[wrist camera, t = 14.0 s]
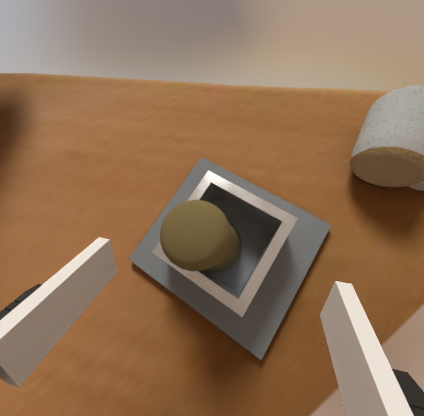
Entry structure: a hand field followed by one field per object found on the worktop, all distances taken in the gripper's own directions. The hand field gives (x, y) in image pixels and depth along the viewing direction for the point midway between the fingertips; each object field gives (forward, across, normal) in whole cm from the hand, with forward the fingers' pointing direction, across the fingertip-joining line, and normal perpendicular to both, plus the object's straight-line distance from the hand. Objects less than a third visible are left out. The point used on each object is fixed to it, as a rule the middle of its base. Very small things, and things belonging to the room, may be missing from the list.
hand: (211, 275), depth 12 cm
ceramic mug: (+21, +18, +3) cm, 28 cm away
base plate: (+11, 0, -6) cm, 13 cm away
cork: (+10, -2, -6) cm, 12 cm away
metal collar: (+11, 0, -6) cm, 13 cm away
